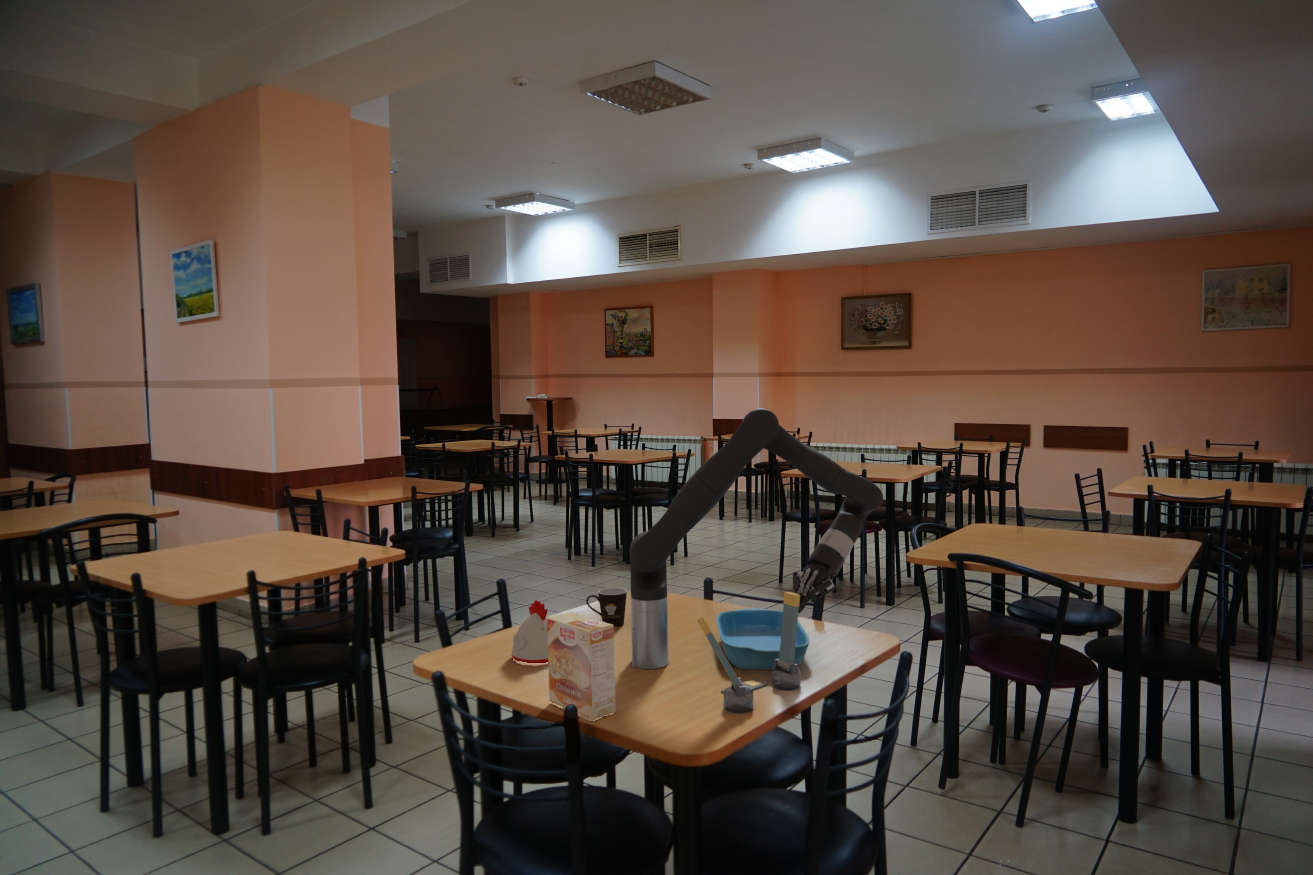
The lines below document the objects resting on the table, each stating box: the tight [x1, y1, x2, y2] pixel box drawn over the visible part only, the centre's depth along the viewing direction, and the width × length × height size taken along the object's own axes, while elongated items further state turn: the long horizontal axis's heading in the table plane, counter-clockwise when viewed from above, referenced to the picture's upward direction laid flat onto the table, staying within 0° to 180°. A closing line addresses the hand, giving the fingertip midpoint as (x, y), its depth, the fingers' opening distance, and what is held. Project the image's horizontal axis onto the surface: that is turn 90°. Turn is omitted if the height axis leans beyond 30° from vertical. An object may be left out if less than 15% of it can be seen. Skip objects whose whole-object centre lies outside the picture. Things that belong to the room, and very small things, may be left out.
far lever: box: [777, 591, 800, 671], centre depth 185 cm, size 2×4×18 cm, turn 33°
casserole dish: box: [715, 607, 810, 671], centre depth 209 cm, size 37×22×7 cm, turn 1°
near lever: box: [696, 616, 744, 690], centre depth 171 cm, size 2×4×18 cm, turn 6°
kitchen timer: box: [511, 599, 550, 663], centre depth 208 cm, size 14×14×15 cm
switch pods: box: [723, 659, 801, 714], centre depth 178 cm, size 24×6×6 cm, turn 135°
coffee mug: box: [585, 587, 628, 628], centre depth 238 cm, size 12×9×10 cm
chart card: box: [720, 678, 768, 694], centre depth 183 cm, size 11×4×1 cm, turn 131°
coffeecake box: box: [547, 611, 617, 722], centre depth 173 cm, size 15×7×20 cm, turn 45°
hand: (794, 610), depth 186 cm, fingers closed
